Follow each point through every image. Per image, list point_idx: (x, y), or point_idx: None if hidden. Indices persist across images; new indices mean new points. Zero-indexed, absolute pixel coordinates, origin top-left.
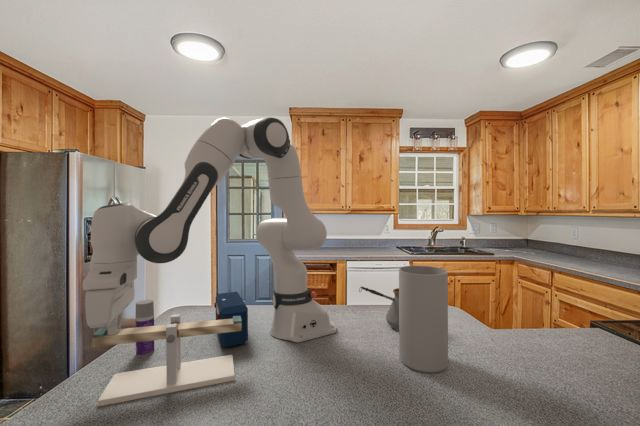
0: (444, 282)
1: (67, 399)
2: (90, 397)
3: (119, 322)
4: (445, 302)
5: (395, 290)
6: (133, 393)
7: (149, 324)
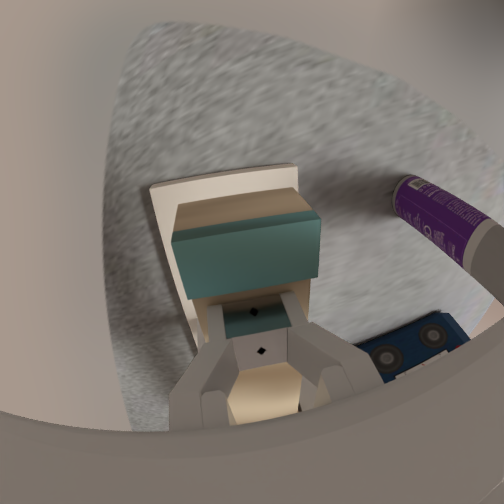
0: None
1: (206, 79)
2: (200, 139)
3: (289, 363)
4: None
5: None
6: (172, 263)
7: (452, 257)
